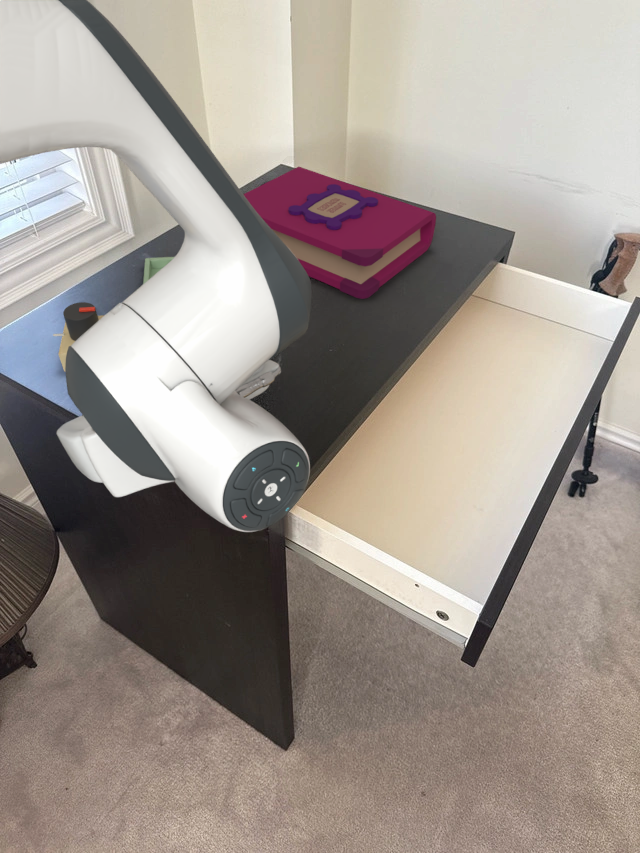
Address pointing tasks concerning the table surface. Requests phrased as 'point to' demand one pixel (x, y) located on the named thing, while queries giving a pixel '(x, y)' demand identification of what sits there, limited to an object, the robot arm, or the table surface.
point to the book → (343, 229)
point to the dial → (80, 318)
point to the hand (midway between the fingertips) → (145, 384)
